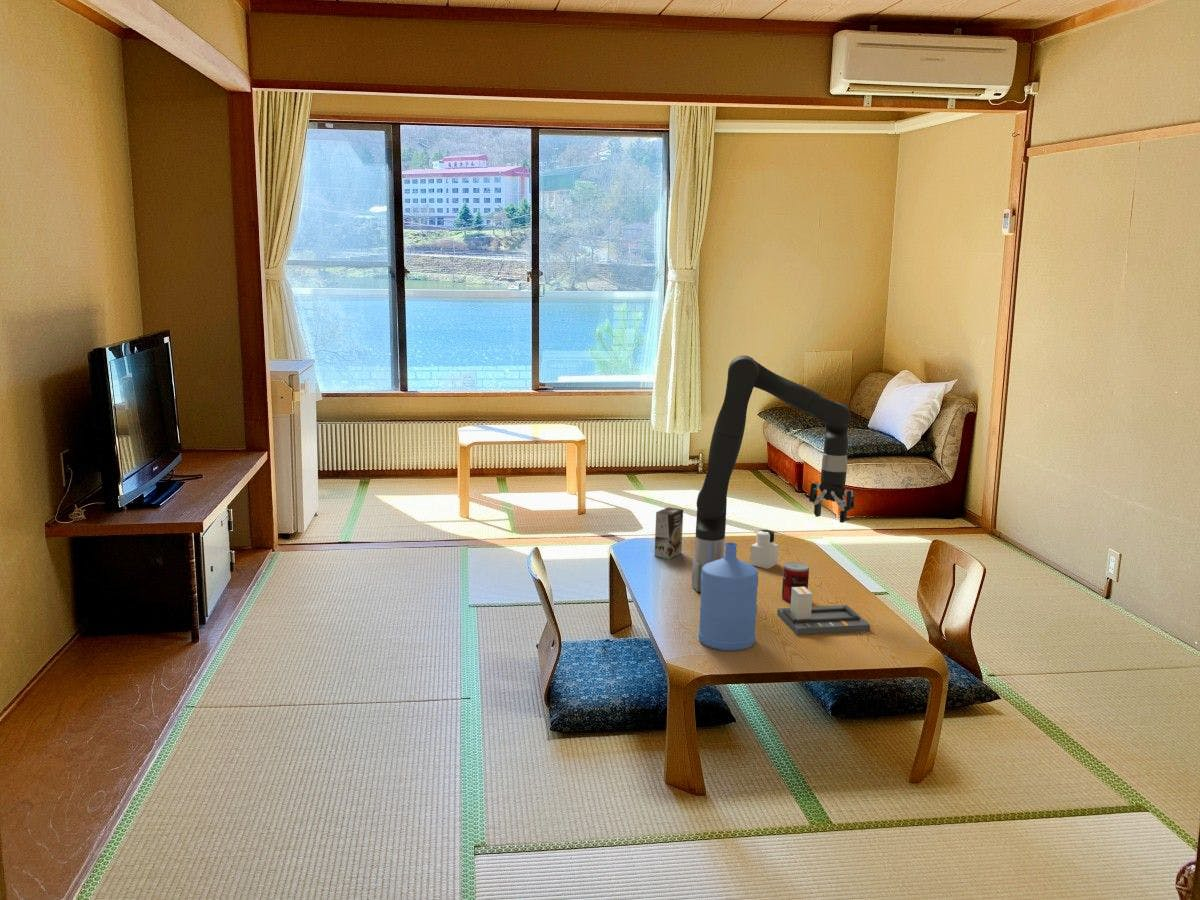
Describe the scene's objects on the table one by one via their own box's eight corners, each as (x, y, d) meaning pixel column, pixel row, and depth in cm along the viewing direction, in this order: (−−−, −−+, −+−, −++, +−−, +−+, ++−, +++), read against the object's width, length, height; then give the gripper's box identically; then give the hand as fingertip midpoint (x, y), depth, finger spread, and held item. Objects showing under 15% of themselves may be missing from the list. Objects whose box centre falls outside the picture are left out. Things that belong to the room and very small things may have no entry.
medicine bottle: (759, 560, 352) (760, 526, 349) (777, 564, 348) (779, 530, 345) (749, 565, 346) (751, 531, 343) (768, 569, 342) (770, 535, 339)
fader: (797, 620, 290) (799, 593, 288) (790, 613, 295) (791, 586, 294) (810, 620, 290) (812, 593, 289) (803, 612, 296) (804, 586, 294)
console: (797, 635, 285) (797, 624, 284) (777, 614, 300) (777, 604, 300) (869, 631, 289) (870, 620, 288) (846, 611, 304) (847, 601, 304)
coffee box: (669, 559, 350) (671, 514, 347) (653, 556, 354) (655, 511, 350) (682, 553, 358) (684, 509, 354) (666, 549, 361) (668, 506, 358)
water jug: (764, 649, 275) (770, 550, 269) (711, 654, 271) (715, 554, 265) (740, 627, 290) (745, 534, 284) (689, 633, 285) (693, 537, 280)
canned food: (790, 593, 319) (792, 559, 317) (812, 599, 314) (814, 565, 311) (776, 598, 314) (778, 565, 312) (798, 605, 308) (800, 571, 306)
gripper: (807, 465, 310) (803, 516, 313) (848, 474, 300) (844, 526, 304) (820, 462, 315) (816, 512, 319) (861, 470, 306) (856, 521, 309)
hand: (829, 519), depth 311 cm, fingers open, 8 cm apart
